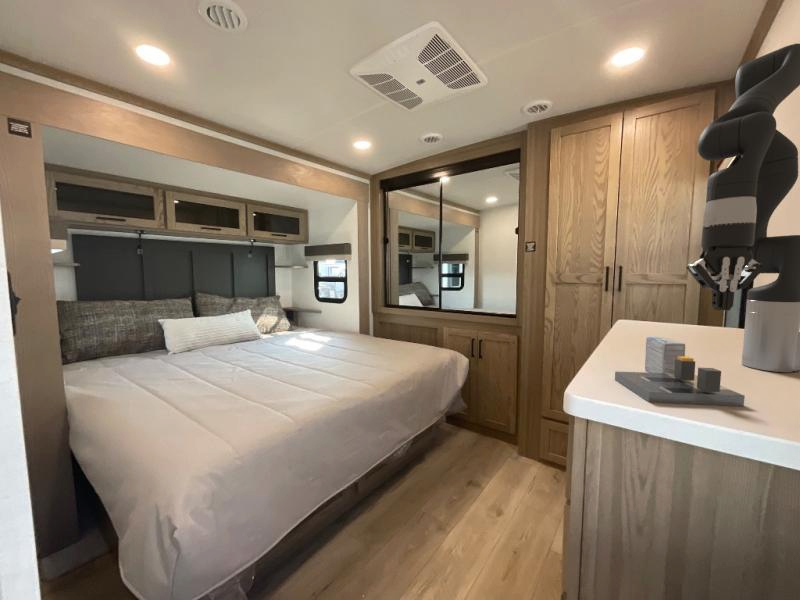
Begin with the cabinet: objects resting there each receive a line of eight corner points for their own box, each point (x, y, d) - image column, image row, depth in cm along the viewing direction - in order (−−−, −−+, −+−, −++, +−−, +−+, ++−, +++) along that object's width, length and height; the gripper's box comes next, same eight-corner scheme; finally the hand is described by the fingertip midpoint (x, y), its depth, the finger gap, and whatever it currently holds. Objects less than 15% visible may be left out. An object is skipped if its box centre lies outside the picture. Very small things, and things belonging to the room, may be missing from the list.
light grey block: (684, 381, 75) (686, 343, 74) (662, 380, 76) (664, 343, 75) (664, 371, 83) (666, 336, 82) (644, 370, 83) (645, 336, 83)
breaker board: (692, 382, 74) (693, 373, 74) (743, 406, 61) (744, 395, 61) (614, 379, 76) (615, 371, 76) (648, 402, 63) (649, 391, 63)
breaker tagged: (687, 377, 70) (688, 356, 70) (694, 380, 68) (695, 358, 68) (674, 377, 70) (675, 355, 70) (680, 380, 69) (682, 358, 68)
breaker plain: (711, 388, 64) (712, 368, 63) (719, 392, 62) (721, 371, 61) (696, 387, 64) (698, 367, 64) (704, 391, 62) (706, 370, 62)
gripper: (749, 225, 68) (742, 308, 70) (678, 226, 70) (673, 307, 72) (785, 219, 61) (777, 312, 63) (705, 221, 63) (698, 312, 64)
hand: (721, 310), depth 67 cm, fingers closed
